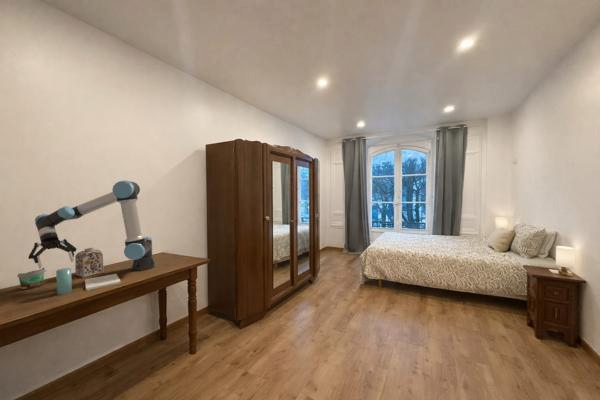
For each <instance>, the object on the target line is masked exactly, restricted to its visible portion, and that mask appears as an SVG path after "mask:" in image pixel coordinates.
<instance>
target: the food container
mask: <svg viewBox="0 0 600 400" xmlns="http://www.w3.org/2000/svg"><path fill="white" fill-rule="evenodd" d="M45 272H47V271H46V269H45V267H41V268H39V269H37V270H30V271H28V272H24V273H18V274H17V275H16V276H17V277H16V278H18V282H19V286H20V290H21V291H24V290H25V291H27V290H28V291H29V290H32V289H37V288H40V287H42V286H44V280H45Z"/></svg>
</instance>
